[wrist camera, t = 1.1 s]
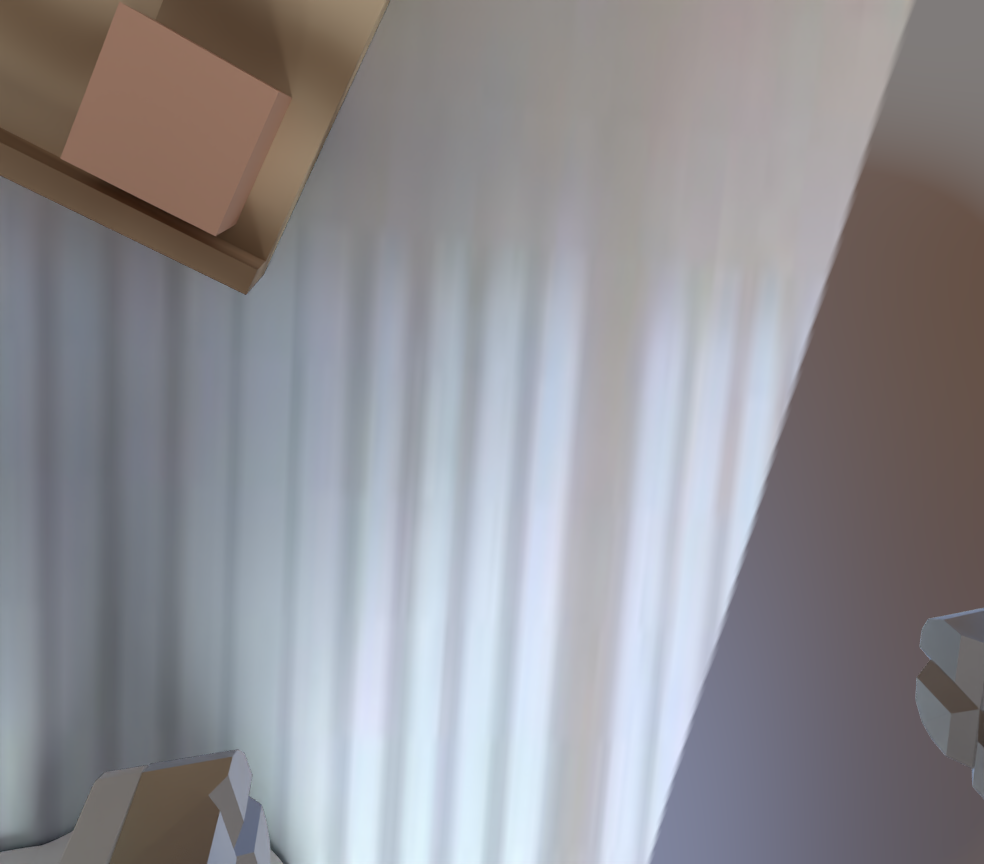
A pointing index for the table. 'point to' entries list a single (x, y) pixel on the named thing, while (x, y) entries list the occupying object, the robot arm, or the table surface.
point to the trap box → (223, 31)
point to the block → (174, 123)
